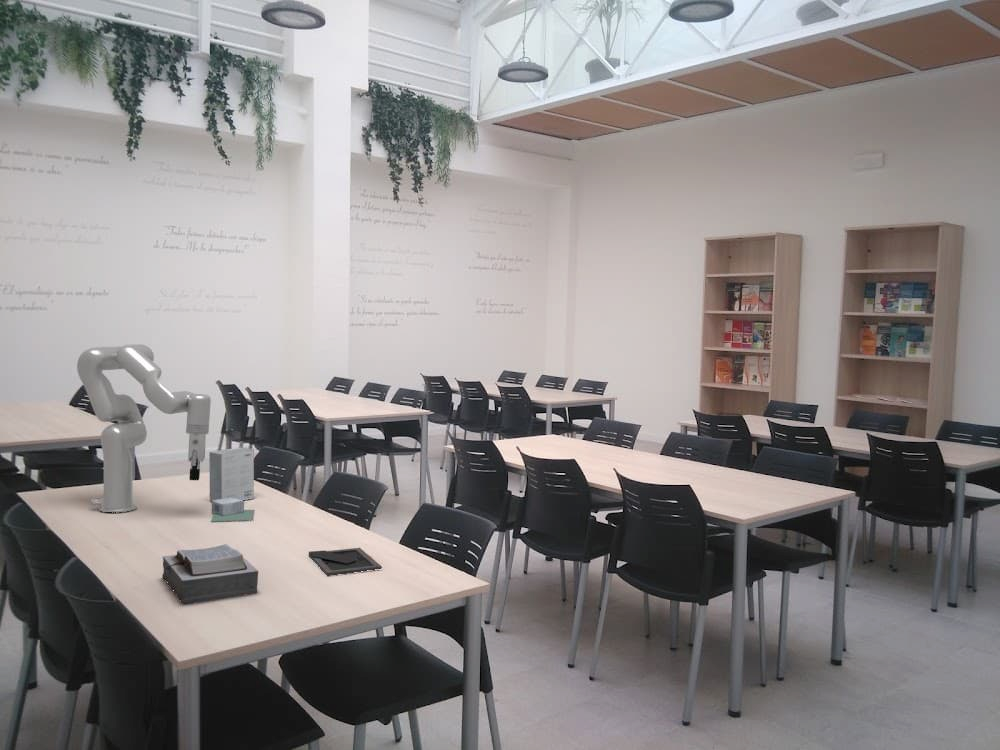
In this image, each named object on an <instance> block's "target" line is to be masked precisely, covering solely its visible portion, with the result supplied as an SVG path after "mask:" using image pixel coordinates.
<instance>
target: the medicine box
mask: <svg viewBox="0 0 1000 750" xmlns="http://www.w3.org/2000/svg"><path fill="white" fill-rule="evenodd" d="M244 510H245V501H243V500H239V499H236V498H233V497H231V498H224V499H217V500H212V503H211V512H212V513H213V514H214V513H216V514H219V515H222V516H225V515H230V514H236V513H241V512H244Z"/></svg>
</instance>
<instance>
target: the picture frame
mask: <svg viewBox="0 0 1000 750" xmlns="http://www.w3.org/2000/svg"><path fill="white" fill-rule="evenodd" d="M308 557H309V559H310V560H311V559H312V560H313V561H314V562H315V563H316V564H317V565H318V566H317V565H316V564H315V563H314V562H313V561H312V560H311V561H312V562H313V563H314V564H315V565H316V566H317V567H318V568H319V567H320V568H319V569H320V570H321V572H322V573H323V572H324V573H325V574H326V575H327V576H326V575H325V574H324V573H323V574H324V575H325V576H326V577H331V576H330V575H336V576H339V575H338V574H344V575H348V574H347V573H353V574H355V573H354V572H361V571H367V570H375V569H381V568H382V569H383V567H382V565H381V564H380V563H378V562H377V560H375V559H374V558H372V557H371V555H369V554H368V553H367V552H365V551H364V550H363V549H362V548H361V547H355V548H345V549H344V548H343V549H335V550H332V549H331V550H314V551H308ZM361 573H362V572H361Z"/></svg>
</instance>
